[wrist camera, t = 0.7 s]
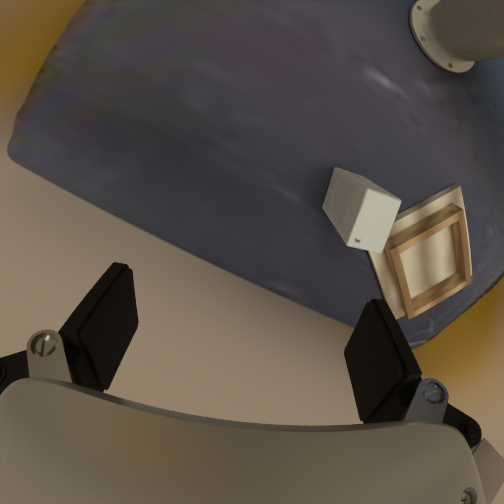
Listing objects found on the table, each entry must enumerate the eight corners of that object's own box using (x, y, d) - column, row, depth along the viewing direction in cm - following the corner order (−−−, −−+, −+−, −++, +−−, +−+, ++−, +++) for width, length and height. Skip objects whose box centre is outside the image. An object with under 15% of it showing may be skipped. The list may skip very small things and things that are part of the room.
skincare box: (349, 215, 37) (381, 256, 26) (321, 207, 36) (344, 247, 26) (363, 174, 34) (403, 200, 23) (334, 165, 34) (366, 187, 23)
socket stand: (454, 183, 33) (471, 192, 29) (467, 270, 40) (480, 283, 36) (360, 233, 38) (371, 247, 34) (389, 315, 45) (398, 332, 41)
